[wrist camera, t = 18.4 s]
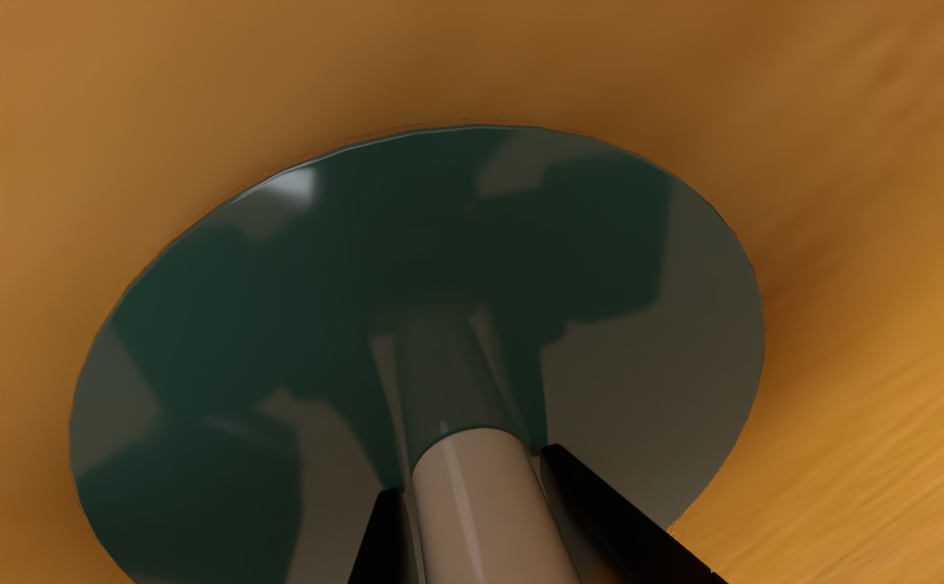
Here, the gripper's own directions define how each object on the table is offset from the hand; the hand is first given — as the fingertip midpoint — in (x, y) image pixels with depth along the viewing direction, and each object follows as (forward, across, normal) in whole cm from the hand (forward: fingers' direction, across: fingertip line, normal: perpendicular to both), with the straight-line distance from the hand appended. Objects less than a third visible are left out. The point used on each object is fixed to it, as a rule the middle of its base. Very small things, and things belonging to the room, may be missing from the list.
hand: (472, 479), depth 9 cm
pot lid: (+1, 0, 0) cm, 1 cm away
